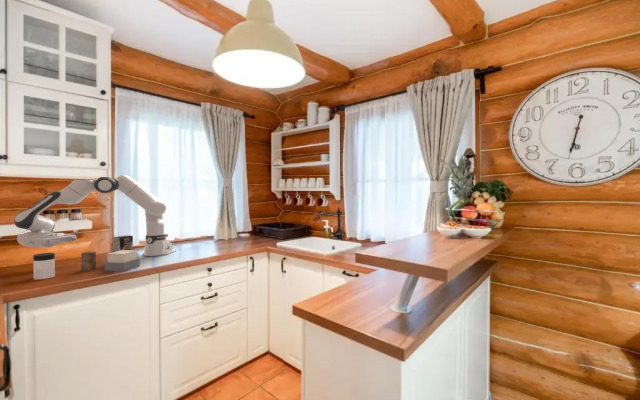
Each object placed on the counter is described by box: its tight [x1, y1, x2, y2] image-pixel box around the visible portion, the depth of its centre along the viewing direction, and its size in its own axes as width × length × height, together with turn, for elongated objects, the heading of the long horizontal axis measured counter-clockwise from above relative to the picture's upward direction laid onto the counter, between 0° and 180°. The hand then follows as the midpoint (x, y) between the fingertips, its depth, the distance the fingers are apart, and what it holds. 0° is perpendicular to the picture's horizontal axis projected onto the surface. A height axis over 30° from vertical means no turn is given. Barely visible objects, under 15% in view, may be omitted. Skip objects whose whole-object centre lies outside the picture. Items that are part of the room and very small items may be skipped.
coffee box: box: [112, 235, 134, 252], centre depth 183 cm, size 9×6×16 cm
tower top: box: [107, 249, 138, 263], centre depth 165 cm, size 10×10×5 cm
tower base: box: [104, 258, 141, 272], centre depth 165 cm, size 12×12×5 cm
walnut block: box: [80, 251, 97, 272], centre depth 161 cm, size 4×4×10 cm
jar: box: [32, 252, 56, 281], centre depth 147 cm, size 9×8×12 cm
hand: (67, 240), depth 163 cm, fingers open, 8 cm apart
